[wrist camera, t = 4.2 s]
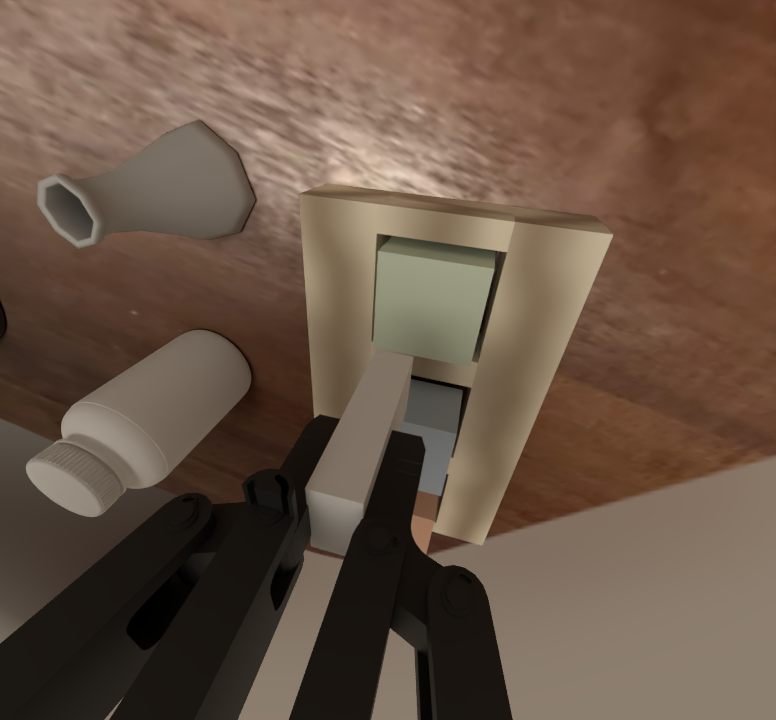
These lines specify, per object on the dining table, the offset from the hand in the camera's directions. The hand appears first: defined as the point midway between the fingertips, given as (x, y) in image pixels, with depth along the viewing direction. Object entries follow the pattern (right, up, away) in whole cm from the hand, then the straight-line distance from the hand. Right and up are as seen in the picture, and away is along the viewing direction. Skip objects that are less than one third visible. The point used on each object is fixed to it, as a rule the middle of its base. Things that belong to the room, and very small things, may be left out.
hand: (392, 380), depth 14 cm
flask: (-13, +13, +10) cm, 21 cm away
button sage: (+3, +6, +9) cm, 11 cm away
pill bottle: (-17, +1, +20) cm, 26 cm away
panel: (+3, -1, +15) cm, 15 cm away
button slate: (+2, -3, +12) cm, 12 cm away
